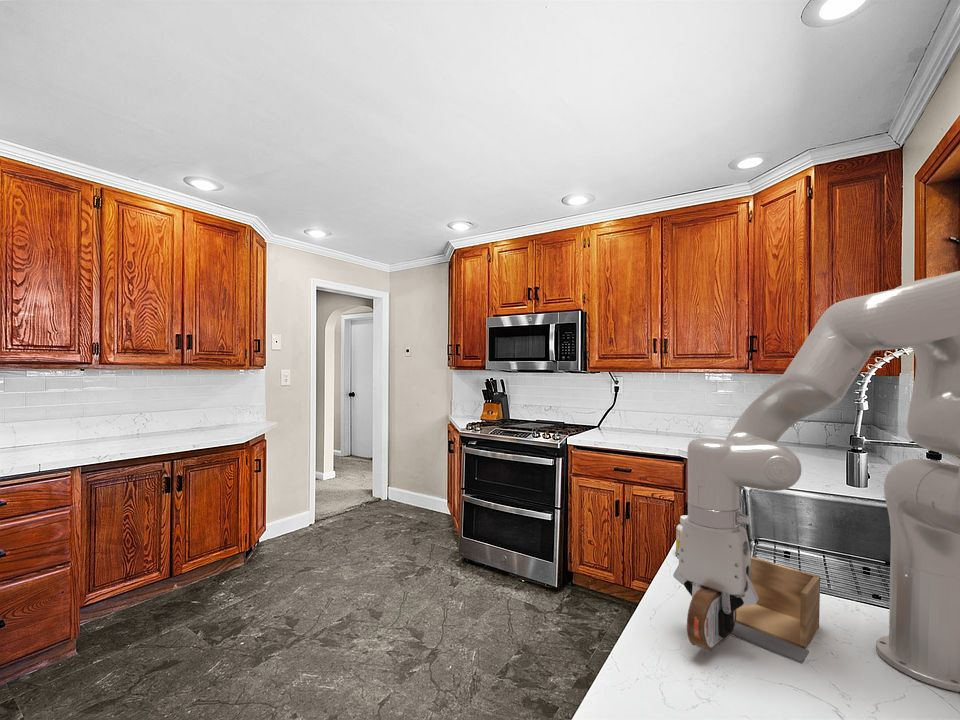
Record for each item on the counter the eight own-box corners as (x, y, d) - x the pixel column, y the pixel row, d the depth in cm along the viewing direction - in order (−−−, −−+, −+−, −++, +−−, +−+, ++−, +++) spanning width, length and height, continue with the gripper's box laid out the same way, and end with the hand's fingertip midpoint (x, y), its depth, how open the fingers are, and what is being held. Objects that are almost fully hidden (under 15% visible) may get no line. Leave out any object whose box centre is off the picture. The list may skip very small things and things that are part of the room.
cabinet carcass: (819, 627, 82) (820, 568, 82) (805, 650, 75) (806, 585, 75) (721, 593, 94) (722, 541, 94) (701, 610, 87) (703, 554, 87)
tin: (722, 623, 81) (719, 573, 82) (742, 629, 79) (739, 577, 80) (685, 653, 71) (683, 594, 72) (707, 661, 69) (704, 600, 70)
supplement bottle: (671, 555, 112) (672, 515, 112) (684, 551, 115) (685, 512, 115) (691, 564, 108) (692, 522, 108) (705, 559, 111) (706, 519, 111)
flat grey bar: (808, 652, 75) (808, 650, 75) (802, 663, 72) (802, 661, 72) (699, 609, 87) (699, 608, 87) (689, 618, 84) (689, 616, 84)
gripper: (776, 522, 73) (778, 642, 72) (673, 501, 84) (674, 603, 84) (762, 534, 67) (763, 663, 67) (654, 509, 79) (655, 619, 79)
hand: (714, 629), depth 75 cm, fingers closed on tin, 2 cm apart
